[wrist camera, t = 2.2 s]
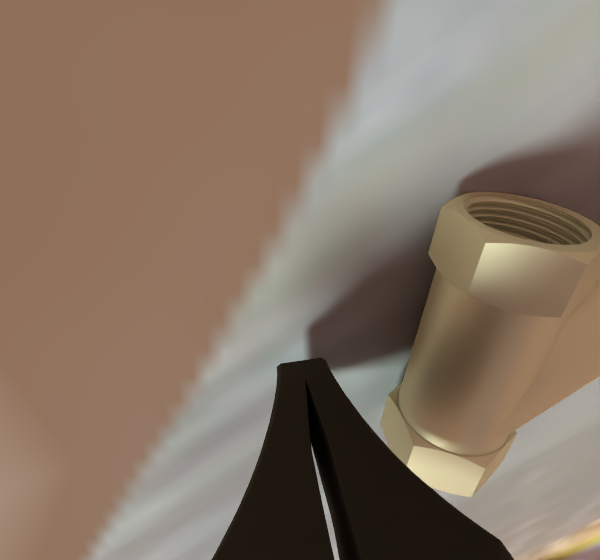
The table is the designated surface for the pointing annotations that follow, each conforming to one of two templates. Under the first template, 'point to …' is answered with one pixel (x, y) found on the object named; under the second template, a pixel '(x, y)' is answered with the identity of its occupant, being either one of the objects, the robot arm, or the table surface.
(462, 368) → the pipe fitting
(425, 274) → the table surface
